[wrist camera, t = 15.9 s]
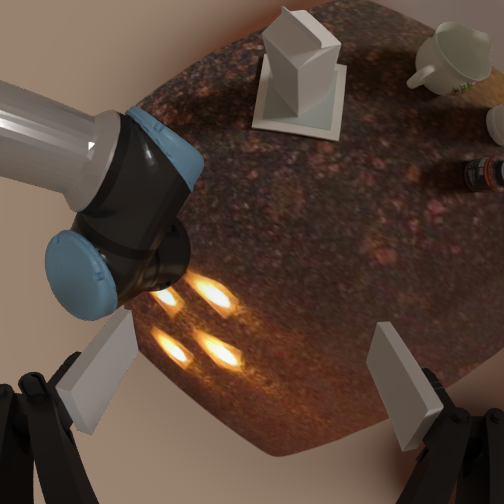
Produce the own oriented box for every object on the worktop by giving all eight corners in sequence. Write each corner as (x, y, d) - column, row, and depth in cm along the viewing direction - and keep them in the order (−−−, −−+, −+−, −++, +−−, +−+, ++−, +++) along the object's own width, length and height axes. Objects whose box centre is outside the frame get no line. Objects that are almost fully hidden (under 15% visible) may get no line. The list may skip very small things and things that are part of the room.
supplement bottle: (489, 185, 40) (525, 185, 29) (469, 197, 41) (505, 199, 30) (478, 155, 40) (513, 148, 29) (457, 166, 41) (492, 161, 30)
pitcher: (377, 71, 40) (400, 35, 27) (440, 42, 36) (470, 10, 23) (414, 122, 41) (449, 101, 28) (473, 88, 37) (511, 66, 24)
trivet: (252, 128, 46) (251, 126, 44) (265, 56, 43) (264, 53, 42) (337, 142, 44) (338, 140, 43) (345, 68, 41) (346, 65, 40)
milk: (298, 117, 43) (295, 57, 22) (275, 90, 43) (255, 19, 21) (327, 97, 42) (346, 29, 20) (304, 71, 41) (304, -7, 20)
